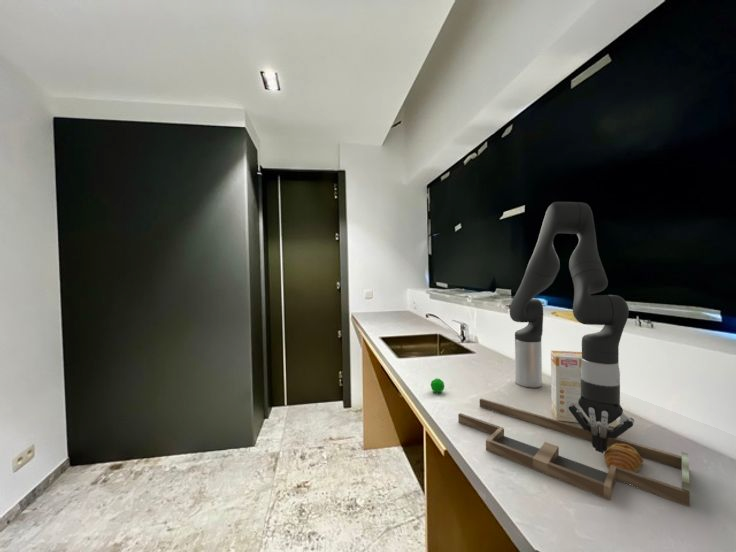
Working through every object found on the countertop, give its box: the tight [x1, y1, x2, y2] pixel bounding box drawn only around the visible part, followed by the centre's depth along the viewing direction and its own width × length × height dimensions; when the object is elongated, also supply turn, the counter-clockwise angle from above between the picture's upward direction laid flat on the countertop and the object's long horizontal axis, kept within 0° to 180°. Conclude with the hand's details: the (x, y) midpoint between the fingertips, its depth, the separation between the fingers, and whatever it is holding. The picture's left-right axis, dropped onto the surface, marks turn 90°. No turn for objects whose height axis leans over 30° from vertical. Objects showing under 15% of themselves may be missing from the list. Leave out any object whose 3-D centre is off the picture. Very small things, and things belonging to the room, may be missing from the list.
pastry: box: [603, 443, 644, 474], centre depth 71 cm, size 9×7×4 cm
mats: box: [498, 435, 608, 483], centre depth 73 cm, size 8×23×1 cm, turn 45°
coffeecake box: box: [550, 350, 617, 428], centre depth 93 cm, size 15×7×20 cm, turn 71°
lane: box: [457, 398, 691, 507], centre depth 78 cm, size 23×48×4 cm, turn 45°
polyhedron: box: [430, 377, 445, 393], centre depth 116 cm, size 5×5×5 cm
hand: (599, 450), depth 74 cm, fingers closed
